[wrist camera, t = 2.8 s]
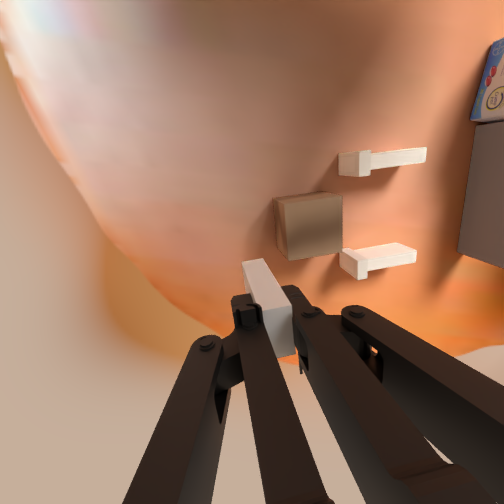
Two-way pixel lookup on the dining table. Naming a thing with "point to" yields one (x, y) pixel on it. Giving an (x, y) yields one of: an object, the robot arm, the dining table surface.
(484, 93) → the medicine box
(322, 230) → the block
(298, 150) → the dining table surface
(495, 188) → the block
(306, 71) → the dining table surface
